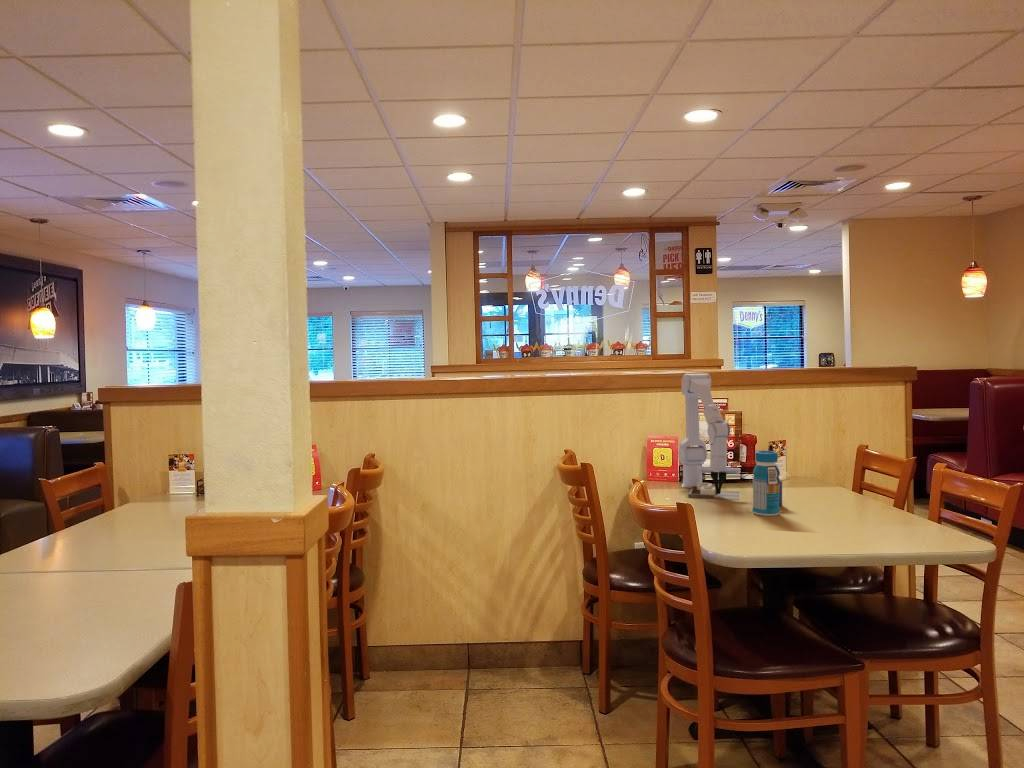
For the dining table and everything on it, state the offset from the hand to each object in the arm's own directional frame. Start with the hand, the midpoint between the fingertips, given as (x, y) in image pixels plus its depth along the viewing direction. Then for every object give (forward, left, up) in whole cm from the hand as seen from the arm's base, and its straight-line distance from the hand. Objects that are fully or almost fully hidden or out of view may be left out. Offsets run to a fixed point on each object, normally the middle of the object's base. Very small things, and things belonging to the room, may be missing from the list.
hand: (718, 493), depth 272 cm
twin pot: (-8, -5, -1) cm, 10 cm away
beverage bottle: (+25, +16, -2) cm, 29 cm away
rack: (-3, -2, -1) cm, 4 cm away
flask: (+13, +17, -2) cm, 21 cm away
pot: (0, -4, -1) cm, 4 cm away
